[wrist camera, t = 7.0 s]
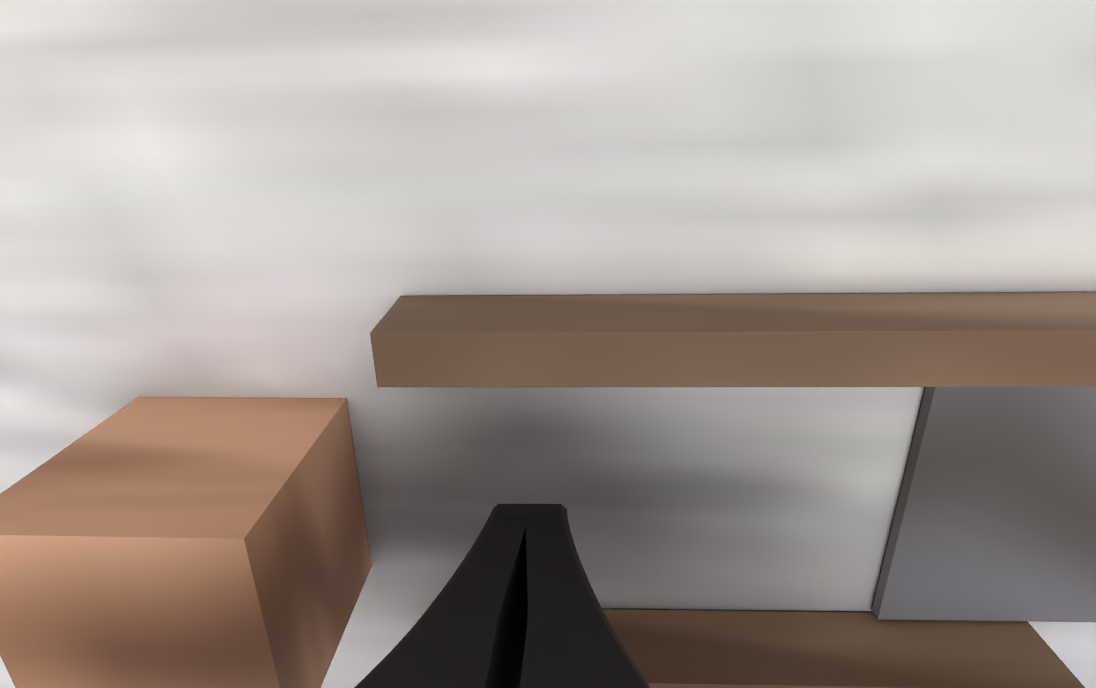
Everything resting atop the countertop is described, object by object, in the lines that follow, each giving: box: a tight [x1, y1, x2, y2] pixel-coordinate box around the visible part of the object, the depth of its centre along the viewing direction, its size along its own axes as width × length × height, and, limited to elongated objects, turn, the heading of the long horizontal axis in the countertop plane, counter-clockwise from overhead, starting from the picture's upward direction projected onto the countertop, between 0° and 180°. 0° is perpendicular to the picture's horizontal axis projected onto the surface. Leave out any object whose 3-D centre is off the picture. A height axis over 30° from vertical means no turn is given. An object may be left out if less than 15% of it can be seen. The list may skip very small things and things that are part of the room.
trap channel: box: [370, 292, 1096, 688], centre depth 12 cm, size 9×16×2 cm, turn 91°
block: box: [0, 397, 371, 688], centre depth 12 cm, size 4×4×4 cm
